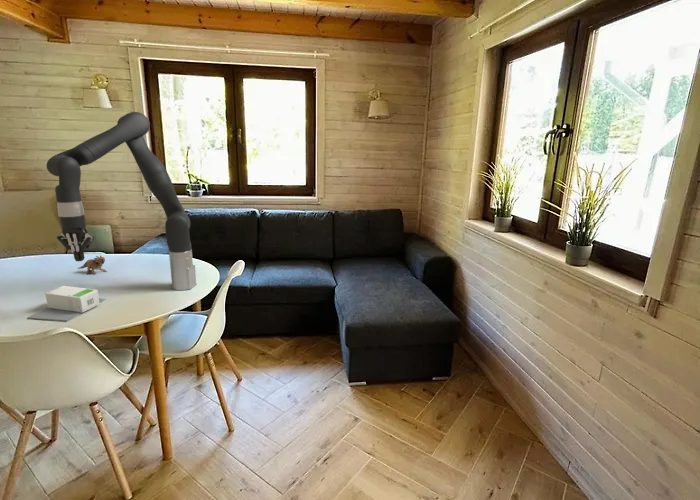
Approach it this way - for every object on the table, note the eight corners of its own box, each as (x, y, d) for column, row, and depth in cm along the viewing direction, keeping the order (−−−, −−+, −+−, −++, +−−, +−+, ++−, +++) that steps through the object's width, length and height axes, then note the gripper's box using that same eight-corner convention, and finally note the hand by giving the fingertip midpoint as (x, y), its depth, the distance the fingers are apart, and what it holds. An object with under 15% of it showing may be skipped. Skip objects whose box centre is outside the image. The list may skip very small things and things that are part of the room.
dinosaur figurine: (112, 271, 189) (110, 253, 186) (105, 275, 183) (102, 256, 181) (85, 270, 189) (82, 252, 186) (77, 274, 183) (74, 255, 181)
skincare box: (80, 297, 140) (43, 292, 142) (82, 314, 142) (46, 309, 144) (98, 289, 148) (63, 284, 150) (100, 304, 150) (66, 299, 152)
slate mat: (105, 299, 155) (105, 298, 155) (66, 321, 136) (66, 320, 136) (70, 297, 156) (70, 296, 156) (27, 318, 137) (26, 317, 137)
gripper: (97, 212, 139) (104, 258, 143) (62, 211, 140) (70, 257, 144) (81, 216, 132) (89, 264, 136) (45, 215, 132) (54, 263, 137)
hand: (79, 260), depth 140 cm, fingers closed
